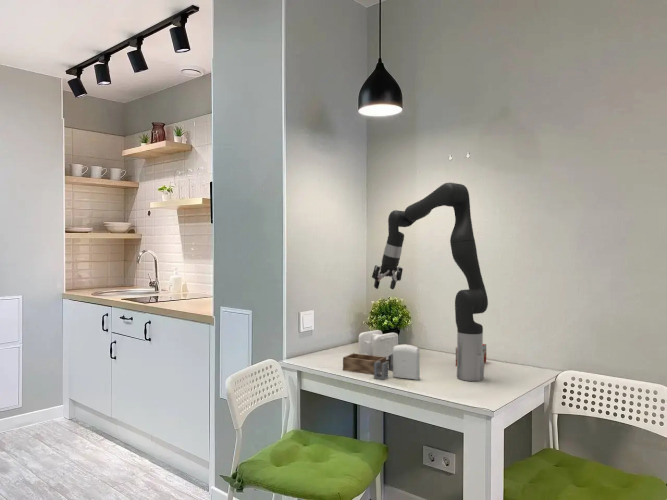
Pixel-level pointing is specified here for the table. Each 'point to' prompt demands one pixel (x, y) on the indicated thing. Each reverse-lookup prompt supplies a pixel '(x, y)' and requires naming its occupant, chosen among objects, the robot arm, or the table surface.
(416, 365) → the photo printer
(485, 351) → the medicine box
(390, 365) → the cable clip
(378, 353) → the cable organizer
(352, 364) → the wooden box
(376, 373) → the cable clip
